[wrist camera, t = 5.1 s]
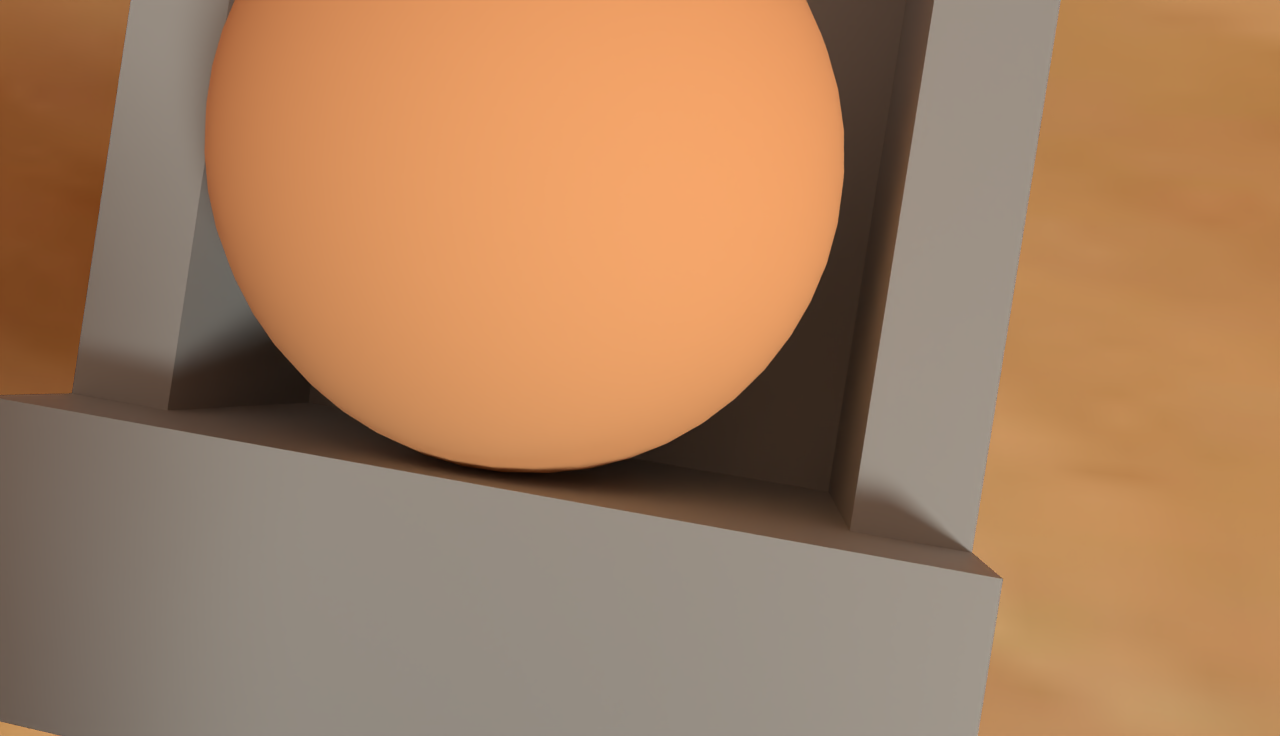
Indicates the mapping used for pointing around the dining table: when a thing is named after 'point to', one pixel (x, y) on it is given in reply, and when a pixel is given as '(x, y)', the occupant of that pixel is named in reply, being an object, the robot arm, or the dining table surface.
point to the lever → (525, 501)
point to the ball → (526, 210)
